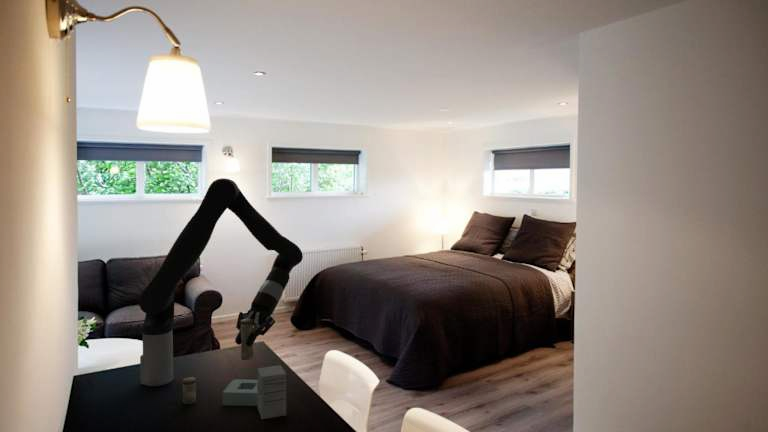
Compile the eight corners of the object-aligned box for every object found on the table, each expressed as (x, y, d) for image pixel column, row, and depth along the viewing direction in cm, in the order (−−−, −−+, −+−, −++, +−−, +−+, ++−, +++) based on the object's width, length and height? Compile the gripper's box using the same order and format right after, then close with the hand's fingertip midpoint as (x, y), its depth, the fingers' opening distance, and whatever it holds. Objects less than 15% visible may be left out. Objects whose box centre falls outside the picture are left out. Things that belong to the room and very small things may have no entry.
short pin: (180, 404, 147) (180, 381, 147) (186, 398, 151) (185, 377, 150) (192, 404, 147) (192, 382, 146) (197, 399, 151) (197, 377, 150)
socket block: (222, 405, 146) (222, 392, 146) (233, 391, 156) (233, 379, 156) (261, 405, 146) (261, 393, 146) (270, 392, 156) (270, 380, 156)
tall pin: (239, 360, 149) (239, 321, 148) (243, 356, 153) (242, 318, 152) (251, 360, 149) (250, 321, 148) (254, 356, 153) (254, 318, 152)
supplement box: (256, 409, 144) (256, 367, 143) (281, 405, 147) (281, 364, 146) (260, 420, 137) (260, 376, 137) (286, 415, 140) (286, 373, 140)
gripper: (245, 288, 159) (218, 335, 149) (280, 293, 153) (254, 341, 143) (256, 301, 164) (231, 347, 154) (290, 306, 158) (266, 353, 148)
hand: (242, 344), depth 149 cm, fingers closed on tall pin, 3 cm apart
